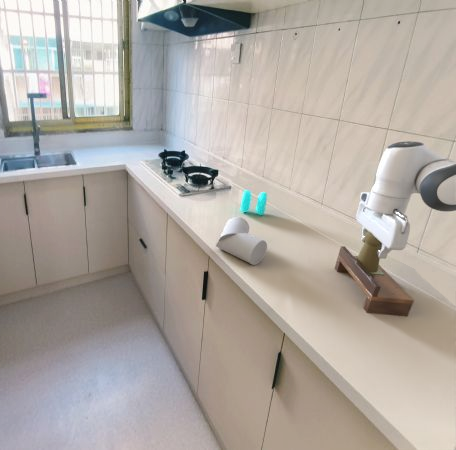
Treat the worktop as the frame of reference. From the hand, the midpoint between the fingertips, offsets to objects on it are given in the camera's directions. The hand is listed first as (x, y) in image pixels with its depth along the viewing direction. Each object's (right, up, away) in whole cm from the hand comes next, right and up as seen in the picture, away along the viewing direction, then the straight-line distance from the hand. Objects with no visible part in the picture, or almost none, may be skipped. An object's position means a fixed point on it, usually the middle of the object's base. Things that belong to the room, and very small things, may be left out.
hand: (372, 249), depth 96 cm
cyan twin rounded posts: (-19, +12, +53) cm, 58 cm away
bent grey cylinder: (-33, -2, +21) cm, 39 cm away
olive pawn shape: (0, -5, +2) cm, 6 cm away
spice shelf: (-1, -12, +1) cm, 12 cm away
